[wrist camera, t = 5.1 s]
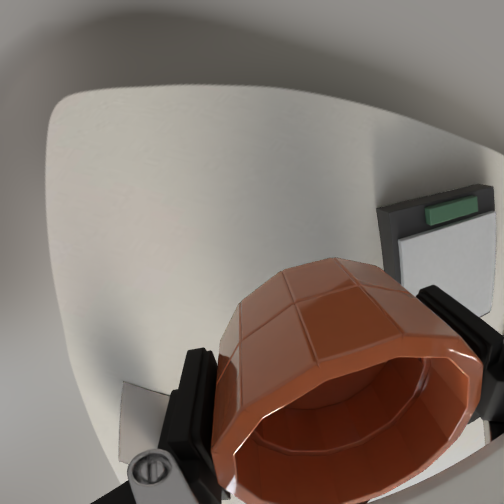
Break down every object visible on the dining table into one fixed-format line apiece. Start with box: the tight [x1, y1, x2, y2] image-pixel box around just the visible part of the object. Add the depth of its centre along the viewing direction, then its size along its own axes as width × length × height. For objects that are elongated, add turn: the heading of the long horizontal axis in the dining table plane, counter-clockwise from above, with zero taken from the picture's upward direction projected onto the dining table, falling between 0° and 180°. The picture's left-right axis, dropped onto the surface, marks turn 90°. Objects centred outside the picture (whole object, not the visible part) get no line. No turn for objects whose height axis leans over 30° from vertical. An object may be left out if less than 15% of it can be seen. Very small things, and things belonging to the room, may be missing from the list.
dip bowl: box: [211, 257, 484, 504], centre depth 8 cm, size 7×7×5 cm
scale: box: [376, 184, 496, 318], centre depth 24 cm, size 14×13×3 cm
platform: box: [119, 382, 170, 464], centre depth 27 cm, size 12×18×6 cm, turn 162°
